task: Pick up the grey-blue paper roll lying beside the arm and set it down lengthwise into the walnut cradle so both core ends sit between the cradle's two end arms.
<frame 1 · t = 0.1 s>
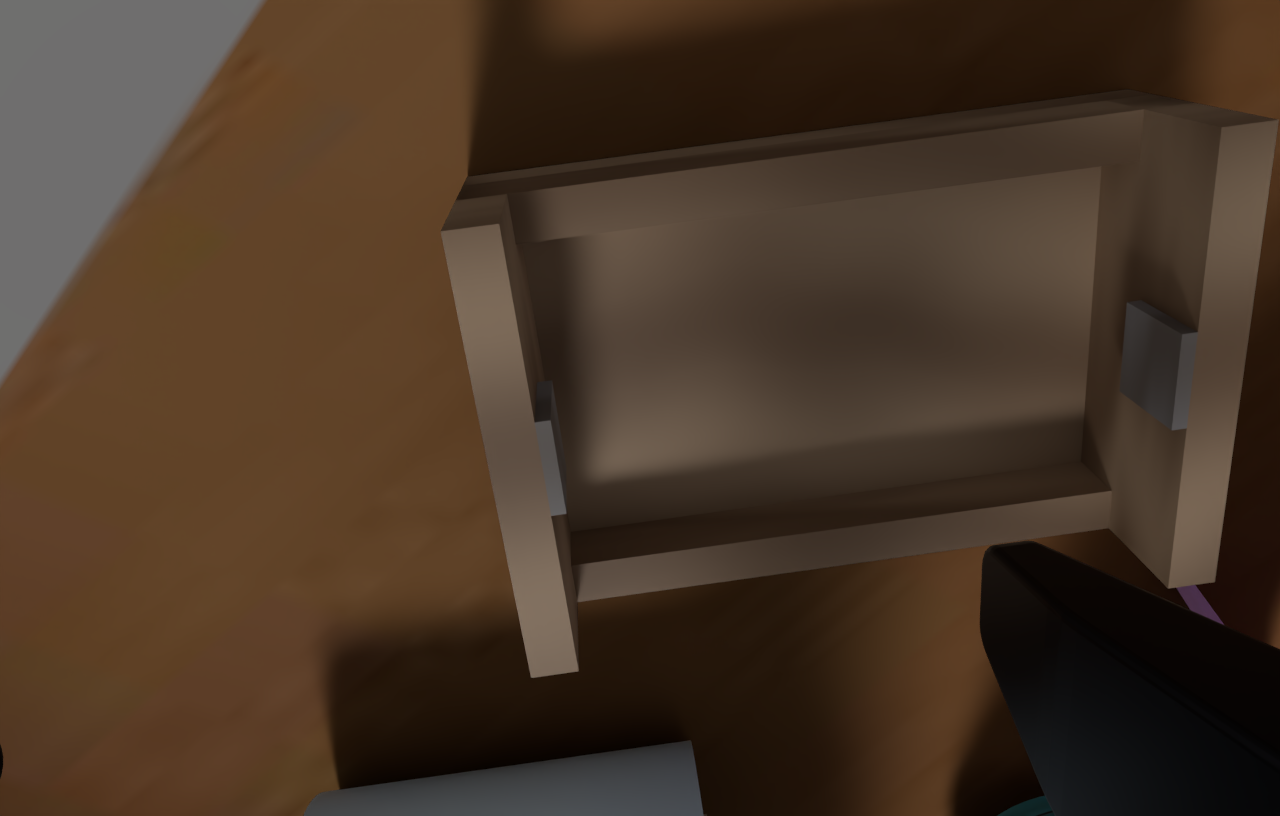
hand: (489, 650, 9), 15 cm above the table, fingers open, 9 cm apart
roll: (522, 799, 29), on the table
holder: (810, 337, 23), on the table
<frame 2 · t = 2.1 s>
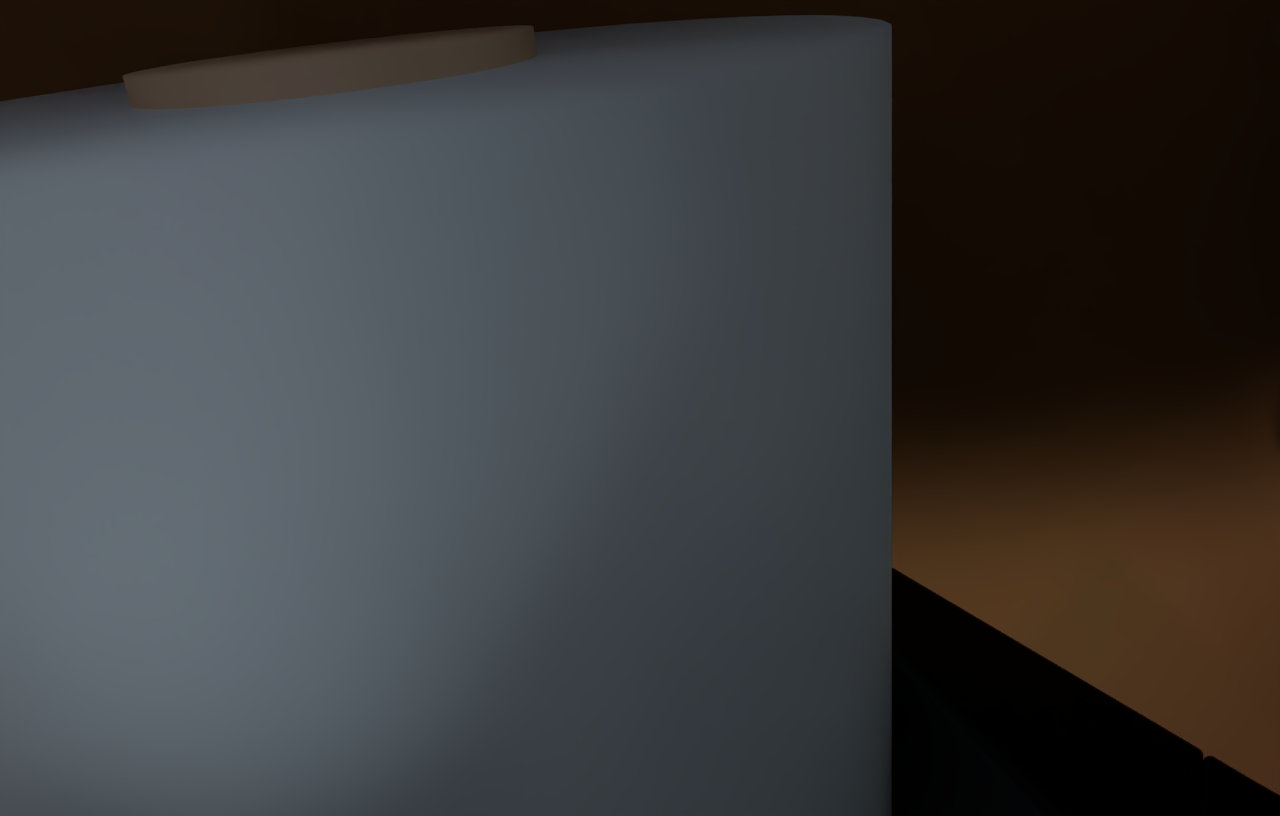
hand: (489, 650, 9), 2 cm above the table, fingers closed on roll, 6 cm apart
roll: (496, 554, 10), on the table, touching gripper
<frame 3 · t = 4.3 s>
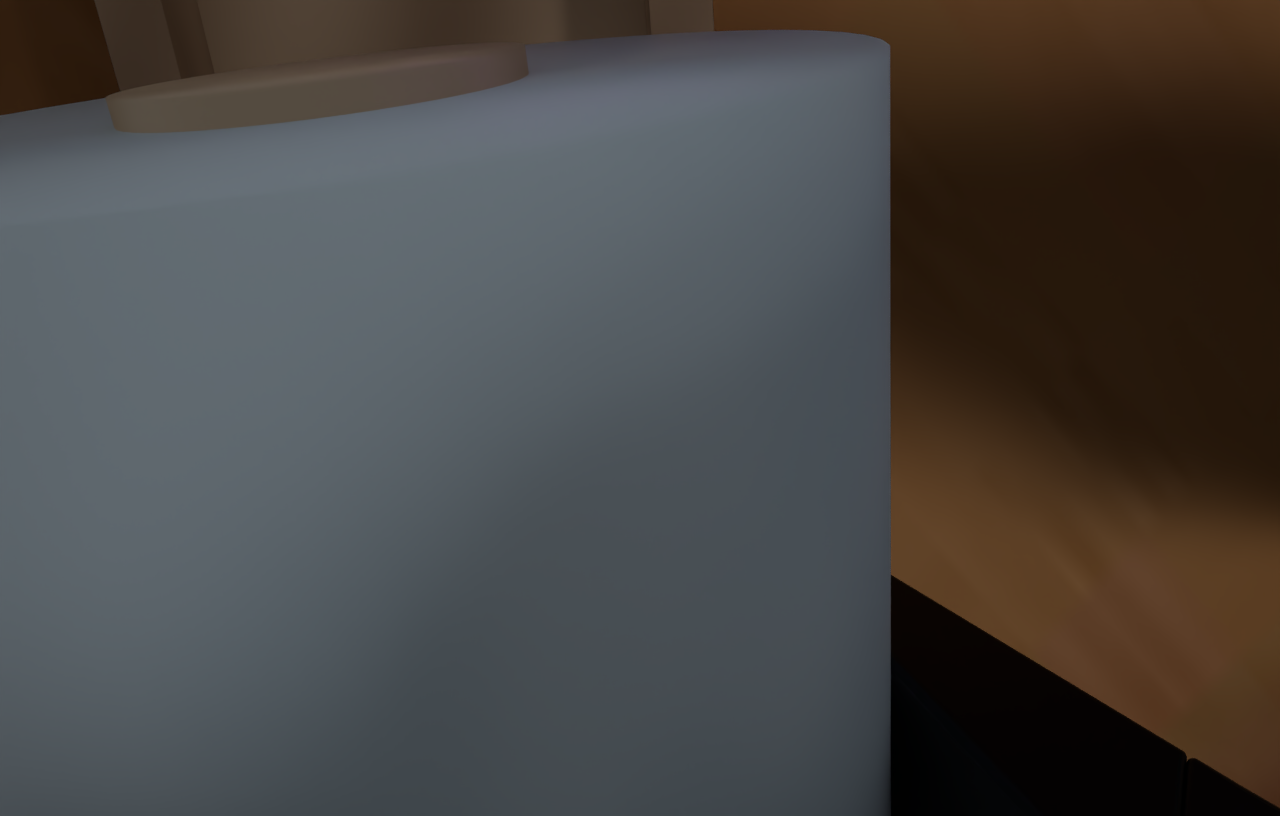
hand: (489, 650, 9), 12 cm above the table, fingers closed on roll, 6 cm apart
roll: (500, 567, 10), point 11 cm above the table, touching gripper
holder: (465, 214, 19), on the table
when the fingers open (3 cm above the table, at t = 6.4 s): roll stays where it is, resting on holder.
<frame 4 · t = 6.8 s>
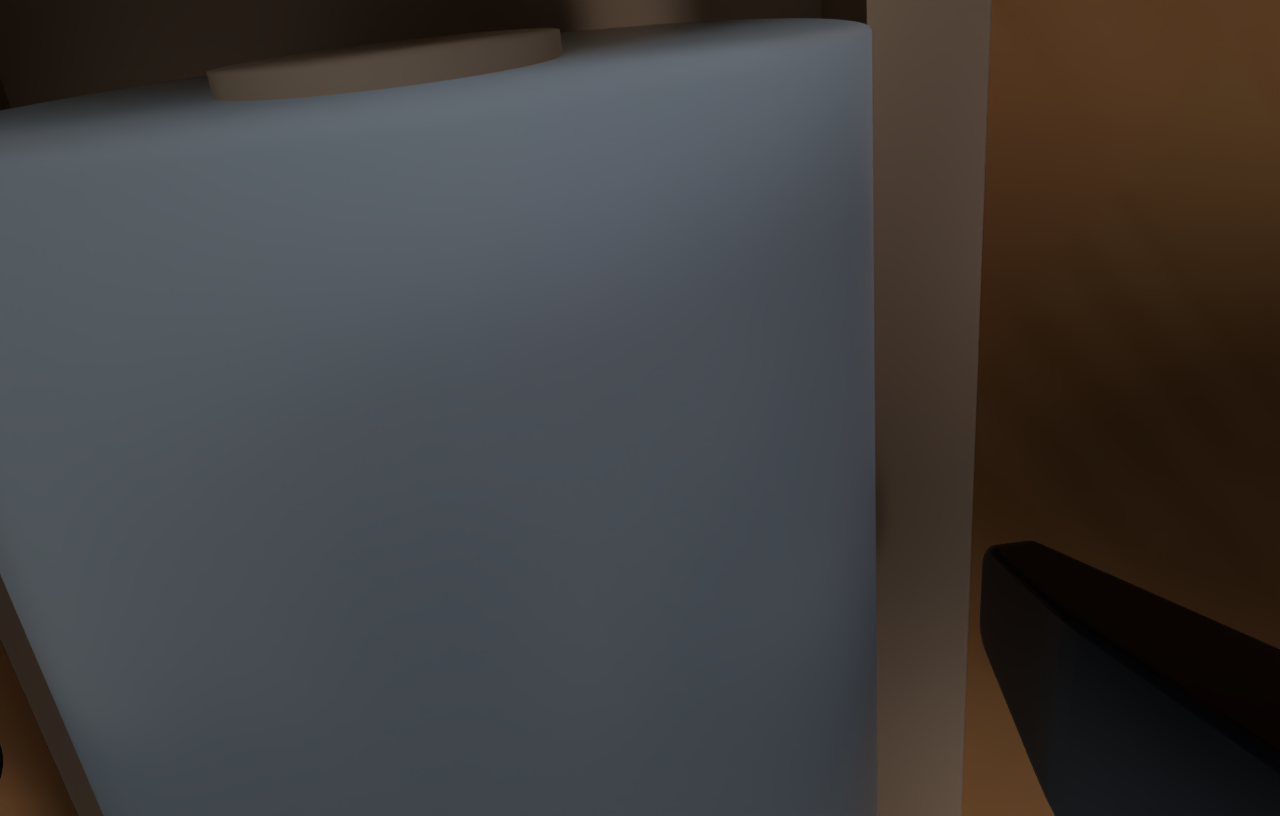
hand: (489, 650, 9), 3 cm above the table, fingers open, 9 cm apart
roll: (501, 519, 11), point 1 cm above the table, tilted 5°, touching holder
holder: (506, 470, 12), on the table
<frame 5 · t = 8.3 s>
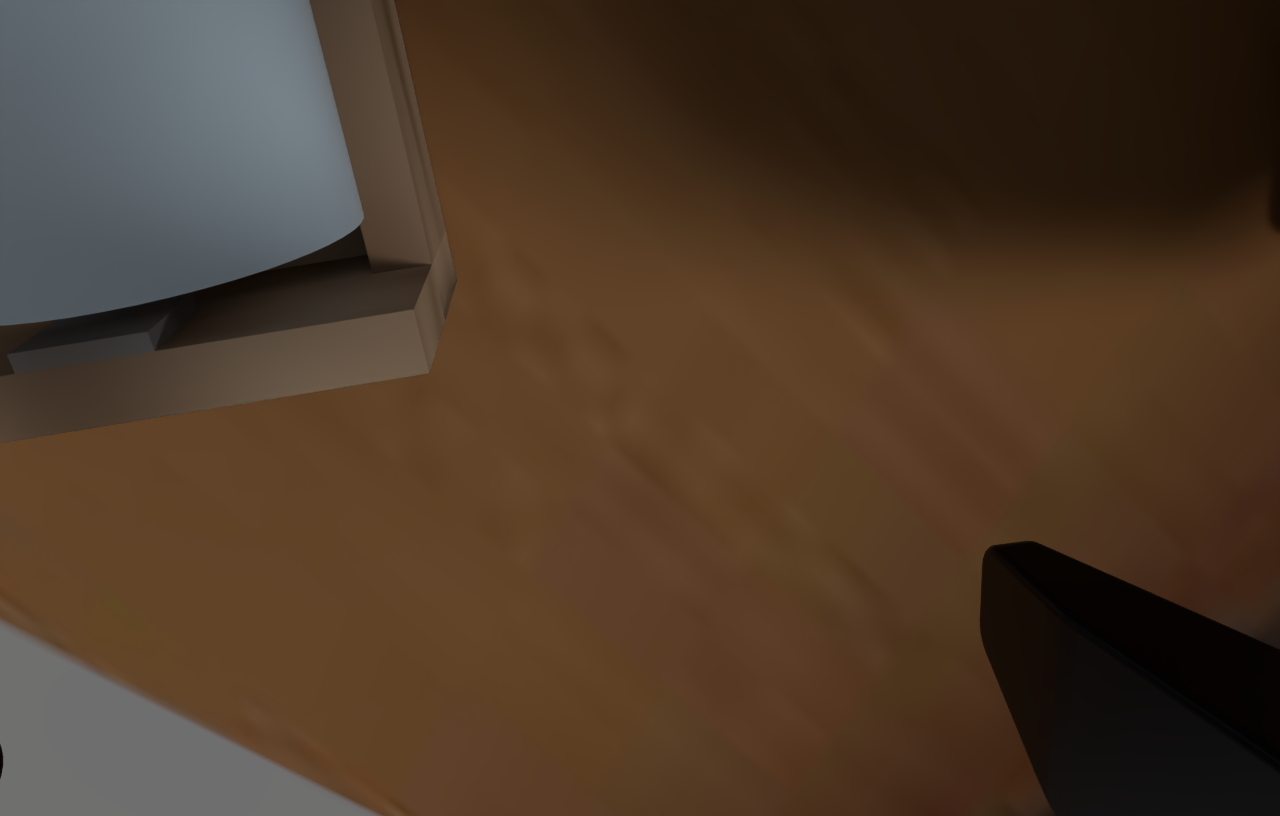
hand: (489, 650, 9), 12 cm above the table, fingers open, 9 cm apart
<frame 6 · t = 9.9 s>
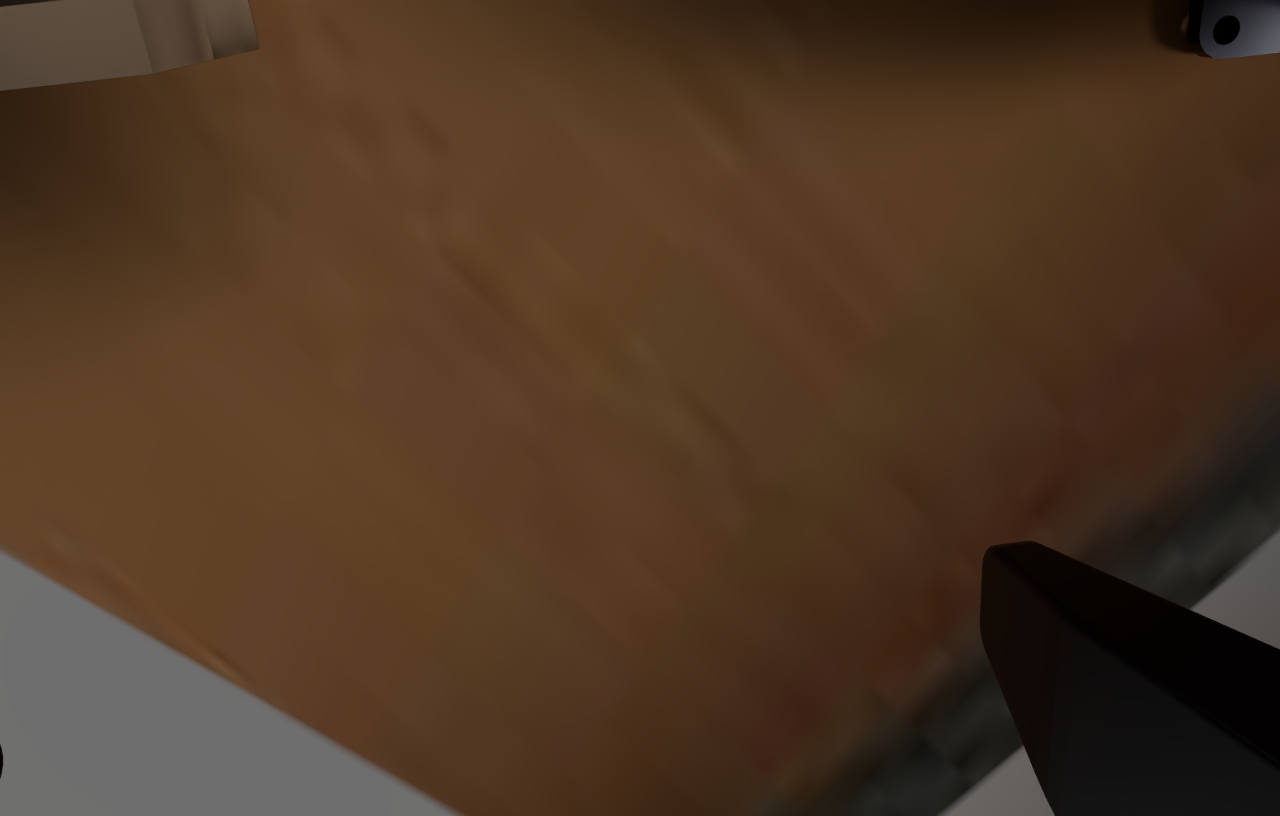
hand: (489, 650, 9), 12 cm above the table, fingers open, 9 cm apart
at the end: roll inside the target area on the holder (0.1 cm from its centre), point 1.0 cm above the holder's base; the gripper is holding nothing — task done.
